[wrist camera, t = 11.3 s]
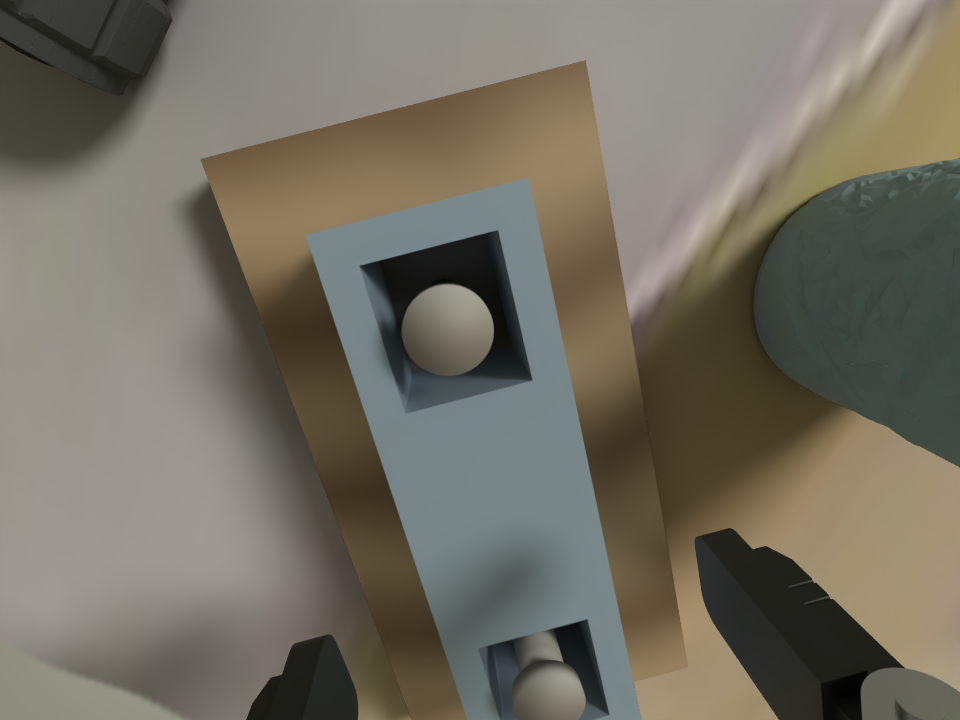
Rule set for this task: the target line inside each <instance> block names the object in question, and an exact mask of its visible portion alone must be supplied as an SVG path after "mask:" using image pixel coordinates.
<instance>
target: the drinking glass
mask: <svg viewBox="0 0 960 720" xmlns="http://www.w3.org/2000/svg"><path fill="white" fill-rule="evenodd" d="M753 312H754V320H755V325H756V330H757V334H758V336H759V339H760V342H761V344H762V346H763V348H764V349H765V351H766V352H767V354H768V356H769V357H770V359H771V360H772V361H773V363H774V364H775V365H776V366H777V368H778V369H780V370H781V371H782V372H783V373H784V374H785V375H786V376H787V377H789V378H790V379H792V380H793V381H795V382H797V383H798V384H800V385H801V386H803V387H805V388H807V389H809V390H810V391H812V392H814V393H816V394H818V395H820V396H822V397H824V398H826V399H828V400H829V401H832V402H834V403H836V404H839V405H841V406H843V407H846V408H848V409H850V410H853V411H855V412H857V413H858V414H860V415H862V416H864V417H866V418H868V419H870V420H872V421H874V422H876V423H879V424H882V425H884V426H887V427H889V428H890V429H892V430H893V431H894V432H895V433H897V434H899V435H900V436H901V437H903V438H904V439H906V440H907V441H909V442H910V443H912V444H914V445H917V446H920V447H922V448H924V449H926V450H928V451H930V452H932V453H934V454H935V455H937V456H939V457H941V458H943V459H945V460H947V461H949V462H951V463H953V464H955V465H957V466H958V467H960V158H958V159H955V160H948V161H940V162H936V163H931V164H928V165H921V166H914V167H908V168H903V169H897V170H891V171H886V172H881V173H875V174H870V175H865V176H860V177H857V178H854V179H851V180H847V181H844V182H842V183H840V184H838V185H836V186H834V187H832V188H830V189H828V190H826V191H825V192H823V193H822V194H820V195H818V196H817V197H815V198H813V199H811V200H809V201H808V203H807V204H806V205H805V206H803V207H801V208H799V209H798V210H797V211H796V213H794V214H793V215H792V216H791V217H790V218H789V219H788V220H787V221H786V222H785V224H784V225H783V226H782V227H781V228H780V229H779V231H778V232H777V234H776V236H775V237H774V239H773V240H772V242H771V244H770V246H769V248H768V250H767V252H766V254H765V256H764V258H763V261H762V263H761V265H760V268H759V271H758V274H757V278H756V282H755V288H754V297H753Z"/></svg>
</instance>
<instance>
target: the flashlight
mask: <svg viewBox="0 0 960 720" xmlns="http://www.w3.org/2000/svg"><path fill="white" fill-rule="evenodd" d="M167 1H168V0H0V40H1V41H3V42H4V43H6V44H7V45H9V46H10V47H12V48H13V49H15V50H16V51H18V52H20V53H22V54H24V55H26V56H28V57H30V58H33V59H35V60H37V61H39V62H42V63H44V64H46V65H49V66H52V67H56V68H58V69H59V70H61V71H63V72H65V73H67V74H69V75H72V76H74V77H76V78H78V79H80V80H82V81H84V82H86V83H88V84H90V85H93V86H95V87H97V88H99V89H101V90H104V91H107V92H109V93H112V94H115V95H122V94H123V92H124V90H125V88H126V86H127V84H128V82H129V80H130V78H131V77H134V78H135V77H142V76H145V75H146V73H147V71H148V69H149V67H150V65H151V63H152V61H153V59H154V57H155V55H156V53H157V51H158V49H159V47H160V45H161V43H162V41H163V38H164V36H165V34H166V32H167V30H168V28H169V26H170V24H171V22H172V18H171V15H170V12H169V9H168V8H167V6H166V4H167Z"/></svg>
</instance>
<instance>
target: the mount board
mask: <svg viewBox="0 0 960 720" xmlns="http://www.w3.org/2000/svg"><path fill="white" fill-rule="evenodd" d="M201 162H202V164H203V167H204V170H205V172H206V175H207V178H208V180H209V183H210V186H211V188H212V191H213V194H214V196H215V199H216V202H217V204H218V207H219V210H220V212H221V215H222V217H223V220H224V223H225V225H226V228H227V231H228V233H229V236H230V239H231V241H232V244H233V247H234V249H235V252H236V255H237V257H238V260H239V263H240V265H241V268H242V271H243V273H244V276H245V279H246V281H247V284H248V287H249V289H250V292H251V295H252V297H253V300H254V302H255V305H256V308H257V310H258V313H259V316H260V318H261V321H262V324H263V326H264V329H265V332H266V334H267V337H268V340H269V342H270V345H271V348H272V350H273V353H274V356H275V358H276V361H277V364H278V366H279V369H280V372H281V374H282V377H283V380H284V382H285V385H286V387H287V390H288V393H289V395H290V398H291V401H292V403H293V406H294V409H295V411H296V414H297V417H298V419H299V422H300V425H301V427H302V430H303V433H304V435H305V438H306V441H307V443H308V446H309V449H310V451H311V454H312V457H313V459H314V462H315V464H316V467H317V470H318V472H319V475H320V478H321V480H322V483H323V486H324V488H325V491H326V494H327V496H328V499H329V502H330V504H331V507H332V510H333V512H334V515H335V518H336V520H337V523H338V526H339V528H340V531H341V534H342V536H343V539H344V542H345V544H346V547H347V549H348V552H349V555H350V557H351V560H352V563H353V565H354V568H355V571H356V573H357V576H358V579H359V581H360V584H361V587H362V589H363V592H364V595H365V597H366V600H367V603H368V605H369V608H370V611H371V613H372V616H373V619H374V621H375V624H376V627H377V629H378V632H379V634H380V637H381V640H382V642H383V645H384V648H385V650H386V653H387V656H388V658H389V661H390V664H391V666H392V669H393V672H394V674H395V677H396V680H397V682H398V685H399V688H400V690H401V693H402V696H403V698H404V701H405V704H406V706H407V709H408V711H409V714H410V717H411V719H412V720H467V717H466V714H465V711H464V708H463V705H462V702H461V699H460V696H459V693H458V690H457V687H456V684H455V681H454V678H453V675H452V672H451V669H450V666H449V663H448V660H447V657H446V654H445V651H444V648H443V645H442V642H441V639H440V636H439V633H438V630H437V627H436V624H435V621H434V618H433V615H432V612H431V609H430V606H429V603H428V600H427V597H426V594H425V591H424V588H423V585H422V582H421V579H420V576H419V573H418V570H417V567H416V564H415V561H414V558H413V555H412V552H411V549H410V546H409V543H408V540H407V537H406V534H405V531H404V528H403V525H402V522H401V519H400V516H399V513H398V510H397V507H396V504H395V501H394V498H393V495H392V492H391V489H390V486H389V483H388V480H387V477H386V474H385V471H384V468H383V465H382V462H381V459H380V456H379V453H378V450H377V447H376V444H375V441H374V438H373V435H372V432H371V429H370V426H369V423H368V420H367V417H366V414H365V412H364V409H363V406H362V403H361V400H360V397H359V394H358V391H357V388H356V385H355V382H354V379H353V376H352V373H351V370H350V367H349V364H348V361H347V358H346V355H345V352H344V349H343V346H342V343H341V340H340V337H339V334H338V331H337V328H336V325H335V322H334V319H333V316H332V313H331V310H330V307H329V304H328V301H327V298H326V295H325V292H324V289H323V286H322V283H321V280H320V277H319V274H318V271H317V268H316V265H315V262H314V259H313V256H312V253H311V250H310V247H309V244H308V241H307V238H306V235H308V234H312V233H315V232H319V231H323V230H327V229H331V228H335V227H339V226H343V225H347V224H350V223H354V222H358V221H362V220H366V219H370V218H374V217H378V216H382V215H385V214H389V213H393V212H397V211H401V210H405V209H409V208H413V207H417V206H420V205H424V204H428V203H432V202H436V201H440V200H444V199H448V198H452V197H455V196H459V195H463V194H467V193H471V192H475V191H479V190H483V189H487V188H490V187H494V186H498V185H502V184H506V183H510V182H514V181H518V180H522V179H525V178H529V181H530V185H531V190H532V195H533V200H534V205H535V210H536V214H537V219H538V224H539V229H540V234H541V238H542V243H543V248H544V253H545V258H546V263H547V267H548V272H549V277H550V282H551V287H552V291H553V296H554V301H555V306H556V311H557V316H558V320H559V325H560V330H561V335H562V340H563V344H564V349H565V354H566V359H567V364H568V369H569V373H570V378H571V383H572V388H573V393H574V397H575V402H576V407H577V412H578V417H579V421H580V426H581V431H582V436H583V441H584V446H585V450H586V455H587V460H588V465H589V470H590V474H591V479H592V484H593V489H594V494H595V499H596V503H597V508H598V513H599V518H600V523H601V527H602V532H603V537H604V542H605V547H606V552H607V556H608V561H609V566H610V571H611V576H612V580H613V585H614V590H615V595H616V600H617V605H618V609H619V614H620V619H621V624H622V629H623V633H624V638H625V643H626V648H627V653H628V658H629V662H630V667H631V672H632V677H633V682H635V681H639V680H642V679H646V678H650V677H653V676H657V675H661V674H665V673H668V672H672V671H676V670H679V669H683V668H687V667H688V663H687V658H686V652H685V646H684V640H683V634H682V628H681V622H680V616H679V610H678V604H677V598H676V592H675V587H674V581H673V575H672V569H671V563H670V557H669V551H668V545H667V539H666V533H665V527H664V521H663V516H662V510H661V504H660V498H659V492H658V486H657V480H656V474H655V468H654V462H653V456H652V450H651V445H650V439H649V433H648V427H647V421H646V415H645V409H644V403H643V397H642V391H641V385H640V379H639V374H638V368H637V362H636V356H635V350H634V344H633V338H632V332H631V326H630V320H629V314H628V308H627V303H626V297H625V291H624V285H623V279H622V273H621V267H620V261H619V255H618V249H617V243H616V237H615V232H614V226H613V220H612V214H611V208H610V202H609V196H608V190H607V184H606V178H605V172H604V166H603V161H602V155H601V149H600V143H599V137H598V131H597V125H596V119H595V113H594V107H593V101H592V95H591V89H590V84H589V78H588V72H587V66H586V60H585V61H581V62H577V63H573V64H569V65H566V66H562V67H558V68H554V69H550V70H546V71H542V72H538V73H534V74H530V75H527V76H523V77H519V78H515V79H511V80H507V81H503V82H499V83H495V84H492V85H488V86H484V87H480V88H476V89H472V90H468V91H464V92H460V93H456V94H453V95H449V96H445V97H441V98H437V99H433V100H429V101H425V102H421V103H417V104H414V105H410V106H406V107H402V108H398V109H394V110H390V111H386V112H382V113H378V114H375V115H371V116H367V117H363V118H359V119H355V120H351V121H347V122H343V123H339V124H336V125H332V126H328V127H324V128H320V129H316V130H312V131H308V132H304V133H300V134H297V135H293V136H289V137H285V138H281V139H277V140H273V141H269V142H265V143H261V144H258V145H254V146H250V147H246V148H242V149H238V150H234V151H230V152H226V153H222V154H219V155H215V156H211V157H207V158H203V159H201ZM380 264H381V267H382V271H383V274H384V277H385V281H386V284H387V287H388V291H389V294H390V297H391V301H392V304H393V308H394V311H395V314H396V318H397V321H398V324H399V328H400V331H401V334H402V339H403V343H404V346H405V349H406V351H407V354H408V358H409V361H410V364H411V368H412V371H416V370H420V369H424V370H426V371H428V372H430V373H433V374H436V375H441V376H455V375H460V374H463V373H466V372H468V371H470V370H472V369H473V368H475V367H476V366H477V365H478V364H480V363H481V362H482V360H483V359H484V358H485V357H486V355H487V354H488V352H489V351H493V350H496V349H500V348H504V347H508V346H512V344H511V340H510V336H509V331H508V327H507V323H506V319H505V315H504V310H503V306H502V302H501V298H500V294H499V289H498V285H497V281H496V277H495V272H494V268H493V264H492V260H491V256H490V251H489V247H488V243H487V239H486V235H485V233H484V234H480V235H477V236H473V237H469V238H465V239H461V240H457V241H453V242H449V243H446V244H442V245H438V246H434V247H430V248H426V249H422V250H418V251H415V252H411V253H407V254H403V255H399V256H395V257H391V258H387V259H384V260H380ZM576 623H578V622H575V623H571V624H568V625H564V626H560V627H556V628H553V629H549V630H545V631H541V632H538V633H534V634H530V635H526V636H523V637H519V638H515V639H511V640H508V641H504V642H500V643H496V644H494V645H498V644H501V643H505V642H509V641H514V646H515V652H516V658H517V663H518V669H519V674H518V675H517V677H516V678H515V680H514V682H513V685H512V699H513V706H514V712H515V716H516V719H517V720H578V719H579V718H580V717H581V715H582V714H583V712H584V709H585V705H586V699H585V694H584V691H583V688H582V685H581V681H580V678H579V676H578V674H577V672H576V671H575V670H574V669H573V668H572V667H571V666H570V665H568V664H566V663H564V662H563V659H562V655H561V652H560V648H559V645H558V641H557V638H556V634H555V631H554V629H558V628H561V627H565V626H569V625H573V624H576Z"/></svg>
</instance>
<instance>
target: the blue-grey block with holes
mask: <svg viewBox="0 0 960 720" xmlns="http://www.w3.org/2000/svg"><path fill="white" fill-rule="evenodd" d="M484 233H485V235H486V239H487V243H488V247H489V251H490V256H491V260H492V264H493V268H494V272H495V277H496V281H497V285H498V289H499V294H500V298H501V302H502V306H503V310H504V315H505V319H506V323H507V327H508V331H509V336H510V340H511V344H512V346H508V347H504V348H500V349H496V350H493V351H489V352H488V354H487V355H486V357H485V358H484V359H483V360H482V362H481V363H480V364H478V365H477V366H476V367H475V368H473V369H472V370H470V371H468V372H466V373H463V374H460V375H455V376H441V375H436V374H433V373H430V372H428V371H426V370H424V369H420V370H416V371H412V368H411V364H410V361H409V358H408V354H407V351H406V349H405V346H404V343H403V339H402V334H401V331H400V328H399V324H398V321H397V318H396V314H395V311H394V308H393V304H392V301H391V297H390V294H389V291H388V287H387V284H386V281H385V277H384V274H383V271H382V267H381V264H380V260H384V259H387V258H391V257H395V256H399V255H403V254H407V253H411V252H415V251H418V250H422V249H426V248H430V247H434V246H438V245H442V244H446V243H449V242H453V241H457V240H461V239H465V238H469V237H473V236H477V235H480V234H484ZM306 238H307V241H308V244H309V247H310V250H311V253H312V256H313V259H314V262H315V265H316V268H317V271H318V274H319V277H320V280H321V283H322V286H323V289H324V292H325V295H326V298H327V301H328V304H329V307H330V310H331V313H332V316H333V319H334V322H335V325H336V328H337V331H338V334H339V337H340V340H341V343H342V346H343V349H344V352H345V355H346V358H347V361H348V364H349V367H350V370H351V373H352V376H353V379H354V382H355V385H356V388H357V391H358V394H359V397H360V400H361V403H362V406H363V409H364V412H365V414H366V417H367V420H368V423H369V426H370V429H371V432H372V435H373V438H374V441H375V444H376V447H377V450H378V453H379V456H380V459H381V462H382V465H383V468H384V471H385V474H386V477H387V480H388V483H389V486H390V489H391V492H392V495H393V498H394V501H395V504H396V507H397V510H398V513H399V516H400V519H401V522H402V525H403V528H404V531H405V534H406V537H407V540H408V543H409V546H410V549H411V552H412V555H413V558H414V561H415V564H416V567H417V570H418V573H419V576H420V579H421V582H422V585H423V588H424V591H425V594H426V597H427V600H428V603H429V606H430V609H431V612H432V615H433V618H434V621H435V624H436V627H437V630H438V633H439V636H440V639H441V642H442V645H443V648H444V651H445V654H446V657H447V660H448V663H449V666H450V669H451V672H452V675H453V678H454V681H455V684H456V687H457V690H458V693H459V696H460V699H461V702H462V705H463V708H464V711H465V714H466V717H467V720H517V719H516V716H515V712H514V706H513V699H512V685H513V682H514V680H515V678H516V677H517V675H518V674H519V669H518V663H517V658H516V652H515V646H514V641H509V642H505V643H501V644H498V645H494V644H496V643H500V642H504V641H508V640H511V639H515V638H519V637H523V636H526V635H530V634H534V633H538V632H541V631H545V630H549V629H553V628H556V627H560V626H564V625H568V624H571V623H575V622H578V623H576V624H573V625H569V626H565V627H561V628H558V629H554V631H555V634H556V638H557V641H558V645H559V648H560V652H561V655H562V659H563V662H564V663H566V664H568V665H570V666H571V667H572V668H573V669H574V670H575V671H576V672H577V674H578V676H579V678H580V681H581V685H582V688H583V691H584V694H585V699H586V705H585V709H584V712H583V714H582V715H581V717H580V718H579V719H578V720H641V715H640V711H639V706H638V701H637V696H636V691H635V686H634V682H633V677H632V672H631V667H630V662H629V658H628V653H627V648H626V643H625V638H624V633H623V629H622V624H621V619H620V614H619V609H618V605H617V600H616V595H615V590H614V585H613V580H612V576H611V571H610V566H609V561H608V556H607V552H606V547H605V542H604V537H603V532H602V527H601V523H600V518H599V513H598V508H597V503H596V499H595V494H594V489H593V484H592V479H591V474H590V470H589V465H588V460H587V455H586V450H585V446H584V441H583V436H582V431H581V426H580V421H579V417H578V412H577V407H576V402H575V397H574V393H573V388H572V383H571V378H570V373H569V369H568V364H567V359H566V354H565V349H564V344H563V340H562V335H561V330H560V325H559V320H558V316H557V311H556V306H555V301H554V296H553V291H552V287H551V282H550V277H549V272H548V267H547V263H546V258H545V253H544V248H543V243H542V238H541V234H540V229H539V224H538V219H537V214H536V210H535V205H534V200H533V195H532V190H531V185H530V181H529V178H525V179H522V180H518V181H514V182H510V183H506V184H502V185H498V186H494V187H490V188H487V189H483V190H479V191H475V192H471V193H467V194H463V195H459V196H455V197H452V198H448V199H444V200H440V201H436V202H432V203H428V204H424V205H420V206H417V207H413V208H409V209H405V210H401V211H397V212H393V213H389V214H385V215H382V216H378V217H374V218H370V219H366V220H362V221H358V222H354V223H350V224H347V225H343V226H339V227H335V228H331V229H327V230H323V231H319V232H315V233H312V234H308V235H306Z"/></svg>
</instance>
